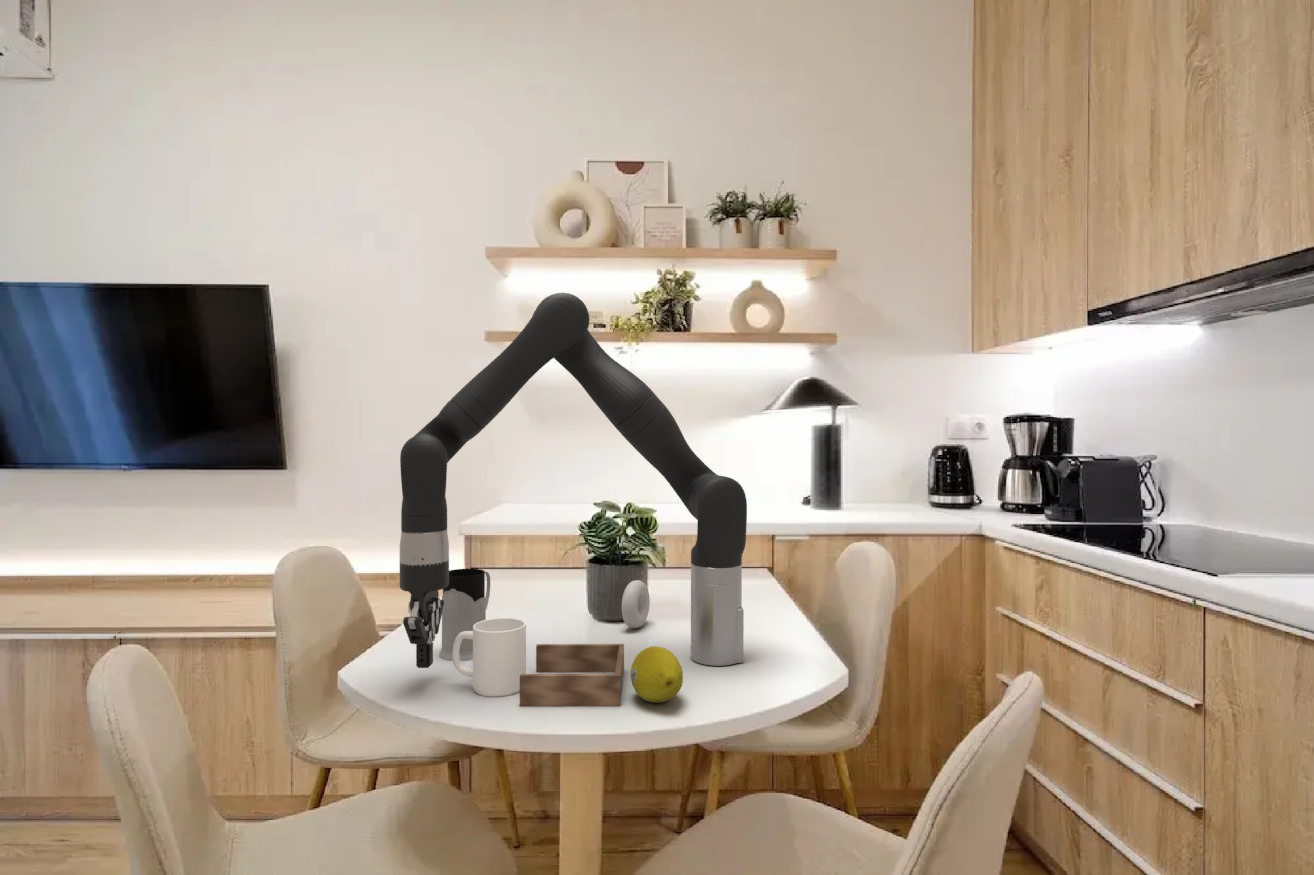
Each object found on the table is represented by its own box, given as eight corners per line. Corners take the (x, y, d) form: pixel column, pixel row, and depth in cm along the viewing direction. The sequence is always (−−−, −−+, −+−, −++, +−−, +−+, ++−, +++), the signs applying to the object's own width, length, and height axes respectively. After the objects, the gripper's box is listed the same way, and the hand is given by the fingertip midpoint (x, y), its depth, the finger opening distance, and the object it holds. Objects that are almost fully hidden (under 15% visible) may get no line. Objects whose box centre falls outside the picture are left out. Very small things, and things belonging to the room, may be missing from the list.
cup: (516, 698, 105) (516, 632, 105) (441, 695, 106) (441, 630, 106) (532, 679, 113) (532, 618, 113) (462, 676, 114) (463, 616, 114)
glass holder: (429, 658, 123) (429, 575, 123) (469, 636, 137) (469, 562, 137) (473, 662, 121) (473, 578, 121) (509, 639, 135) (509, 564, 135)
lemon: (627, 689, 108) (627, 639, 108) (675, 687, 110) (675, 637, 110) (635, 717, 98) (635, 661, 98) (688, 714, 99) (688, 659, 99)
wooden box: (624, 670, 117) (624, 644, 117) (620, 705, 102) (620, 675, 102) (536, 670, 117) (537, 644, 117) (519, 706, 102) (519, 675, 102)
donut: (637, 621, 149) (637, 575, 149) (652, 622, 148) (652, 576, 148) (618, 633, 140) (618, 584, 140) (633, 635, 138) (634, 585, 138)
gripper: (434, 566, 103) (435, 681, 103) (459, 551, 116) (459, 653, 116) (385, 566, 103) (385, 681, 103) (415, 551, 116) (415, 653, 116)
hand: (424, 666), depth 109 cm, fingers closed
